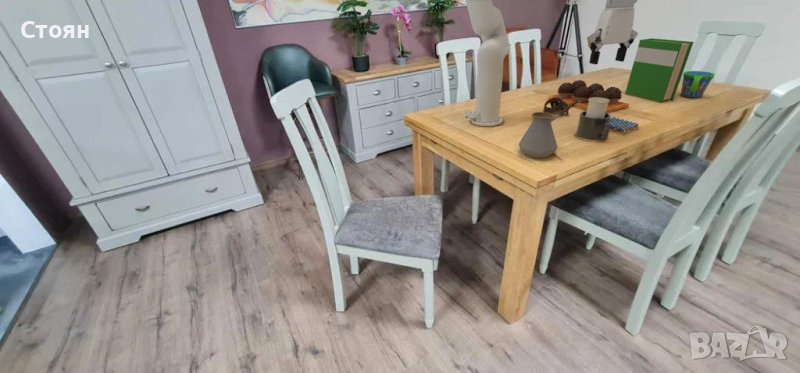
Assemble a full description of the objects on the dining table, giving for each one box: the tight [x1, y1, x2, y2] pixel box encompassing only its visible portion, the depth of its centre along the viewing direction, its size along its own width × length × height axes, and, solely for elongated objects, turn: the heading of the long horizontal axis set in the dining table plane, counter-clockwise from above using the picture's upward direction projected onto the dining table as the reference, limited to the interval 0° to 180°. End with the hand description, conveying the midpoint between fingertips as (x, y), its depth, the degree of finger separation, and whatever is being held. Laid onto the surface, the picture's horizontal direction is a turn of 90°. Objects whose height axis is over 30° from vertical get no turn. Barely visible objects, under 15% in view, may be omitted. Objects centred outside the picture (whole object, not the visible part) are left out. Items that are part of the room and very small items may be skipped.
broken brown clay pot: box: [542, 97, 570, 116], centre depth 139 cm, size 12×10×8 cm
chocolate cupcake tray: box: [548, 79, 630, 113], centre depth 149 cm, size 28×17×8 cm, turn 25°
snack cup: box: [680, 70, 716, 99], centre depth 149 cm, size 16×10×10 cm
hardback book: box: [624, 38, 694, 103], centre depth 148 cm, size 18×7×24 cm, turn 20°
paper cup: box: [586, 97, 609, 118], centre depth 114 cm, size 6×6×12 cm
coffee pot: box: [518, 100, 581, 159], centre depth 106 cm, size 21×12×15 cm, turn 117°
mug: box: [575, 110, 612, 141], centre depth 114 cm, size 12×9×8 cm
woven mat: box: [609, 116, 640, 134], centre depth 123 cm, size 10×11×2 cm
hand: (606, 62), depth 110 cm, fingers open, 9 cm apart
